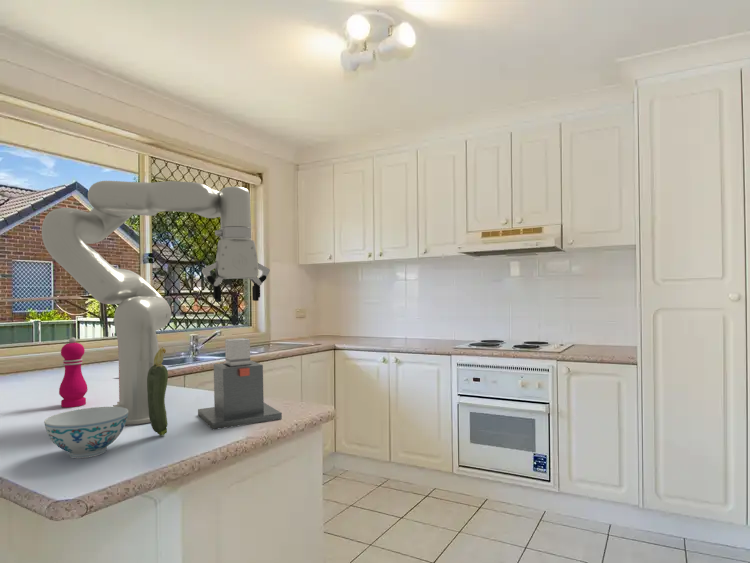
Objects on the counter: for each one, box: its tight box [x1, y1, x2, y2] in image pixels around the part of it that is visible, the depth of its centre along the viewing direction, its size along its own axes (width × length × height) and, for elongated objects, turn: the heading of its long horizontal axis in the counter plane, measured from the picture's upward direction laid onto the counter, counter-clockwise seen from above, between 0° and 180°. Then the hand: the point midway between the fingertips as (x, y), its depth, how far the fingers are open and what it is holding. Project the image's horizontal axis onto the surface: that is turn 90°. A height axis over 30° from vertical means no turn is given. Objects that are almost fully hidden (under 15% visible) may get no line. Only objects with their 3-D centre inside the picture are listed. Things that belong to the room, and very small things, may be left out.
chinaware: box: [43, 406, 128, 459], centre depth 104 cm, size 15×15×8 cm
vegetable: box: [147, 347, 169, 436], centre depth 115 cm, size 4×4×20 cm
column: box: [224, 337, 251, 367], centre depth 131 cm, size 5×5×18 cm
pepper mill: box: [58, 336, 89, 408], centre depth 149 cm, size 7×7×20 cm
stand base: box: [197, 360, 283, 430], centre depth 131 cm, size 17×17×14 cm
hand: (237, 301), depth 131 cm, fingers open, 9 cm apart
